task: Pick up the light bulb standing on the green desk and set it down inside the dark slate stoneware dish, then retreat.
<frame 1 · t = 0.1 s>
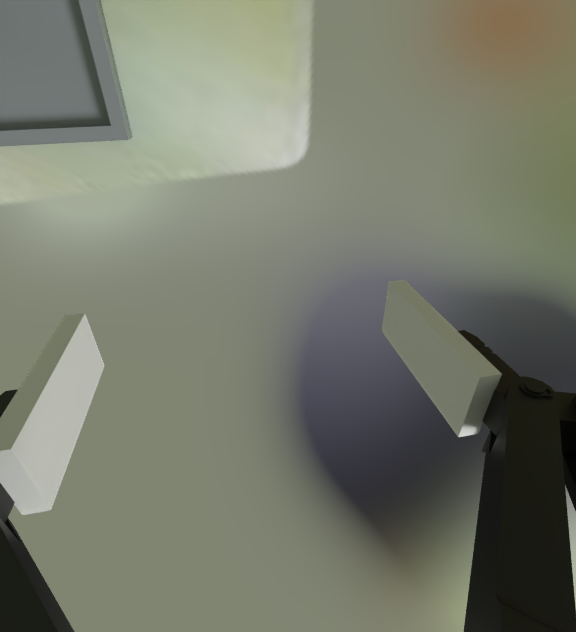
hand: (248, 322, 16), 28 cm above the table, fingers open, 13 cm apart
dish: (24, 49, 31), on the table
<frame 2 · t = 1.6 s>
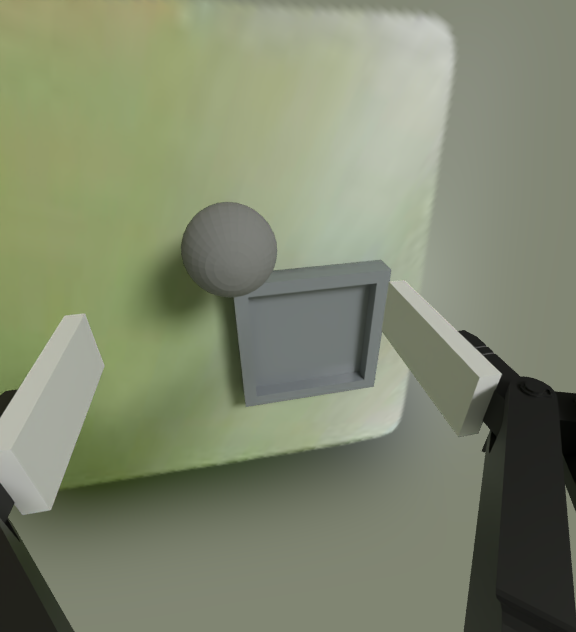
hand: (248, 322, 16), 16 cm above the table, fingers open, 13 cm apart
dish: (307, 330, 36), on the table
light bulb: (224, 217, 29), on the table
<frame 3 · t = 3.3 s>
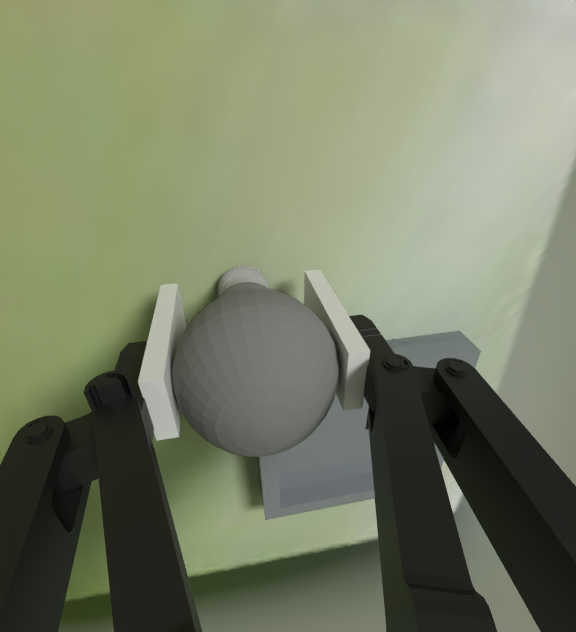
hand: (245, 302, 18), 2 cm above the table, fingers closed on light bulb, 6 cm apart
dish: (350, 420, 27), on the table
light bulb: (241, 283, 19), on the table, touching gripper
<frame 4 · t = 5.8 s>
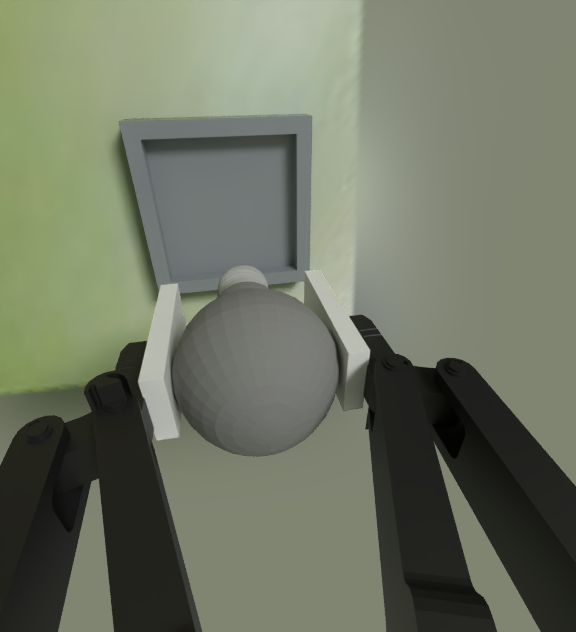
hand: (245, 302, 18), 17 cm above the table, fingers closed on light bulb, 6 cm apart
dish: (227, 206, 32), on the table
light bulb: (241, 282, 19), point 15 cm above the table, touching gripper
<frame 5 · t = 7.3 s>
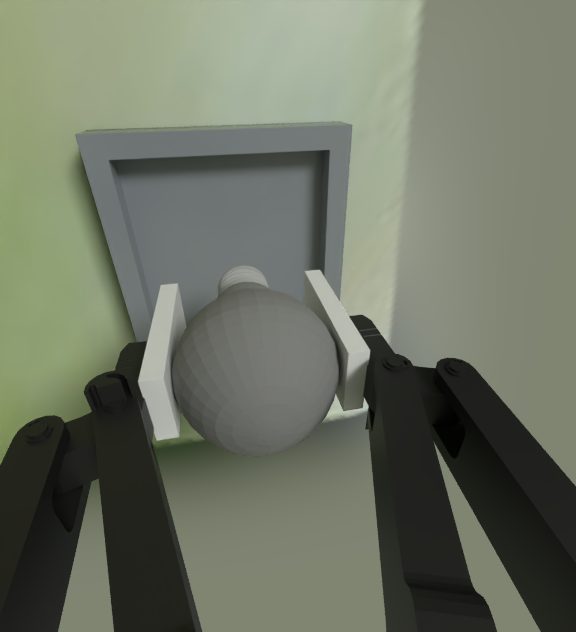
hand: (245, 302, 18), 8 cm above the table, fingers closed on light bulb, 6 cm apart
dish: (232, 243, 24), on the table
light bulb: (241, 282, 19), point 6 cm above the table, touching gripper
when the fingers open (5 cm above the table, at t = 8.3 s): light bulb drops 2 cm, resting on dish.
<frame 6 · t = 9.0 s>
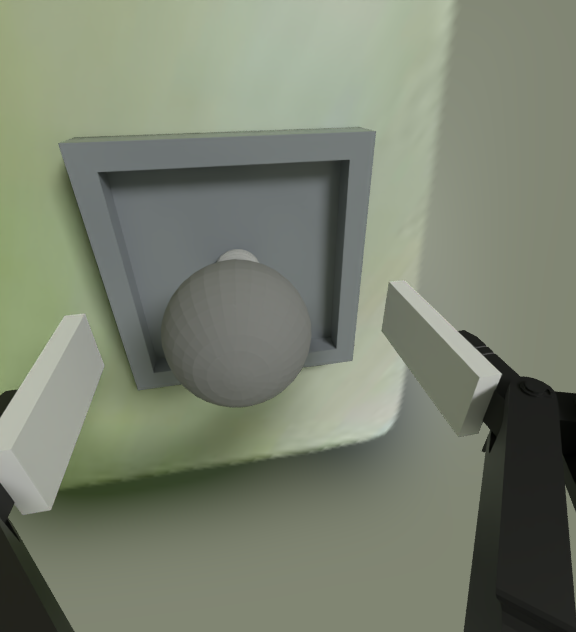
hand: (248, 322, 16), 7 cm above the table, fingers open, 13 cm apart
dish: (238, 262, 22), on the table
light bulb: (237, 266, 21), point 1 cm above the table, touching dish
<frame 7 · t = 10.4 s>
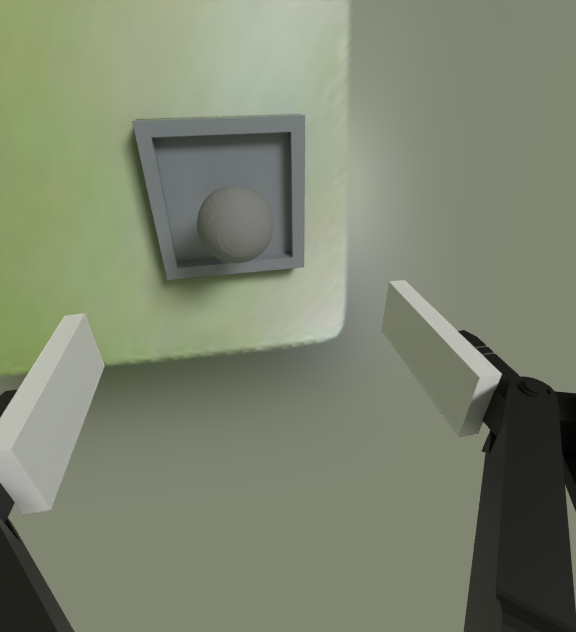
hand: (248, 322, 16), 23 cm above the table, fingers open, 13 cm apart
dish: (229, 198, 35), on the table
light bulb: (228, 199, 35), point 1 cm above the table, touching dish
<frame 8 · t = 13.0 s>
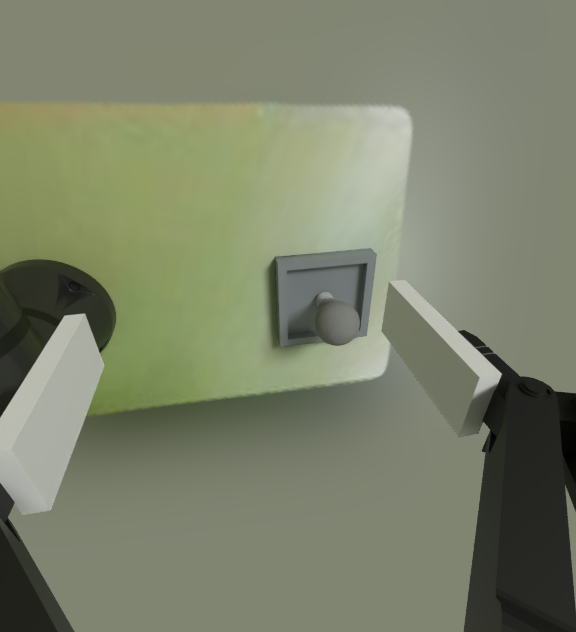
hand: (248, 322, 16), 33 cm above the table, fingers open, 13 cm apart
dish: (322, 295, 55), on the table
light bulb: (322, 297, 54), point 1 cm above the table, touching dish
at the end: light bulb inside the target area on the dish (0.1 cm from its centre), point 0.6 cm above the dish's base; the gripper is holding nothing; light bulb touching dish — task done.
